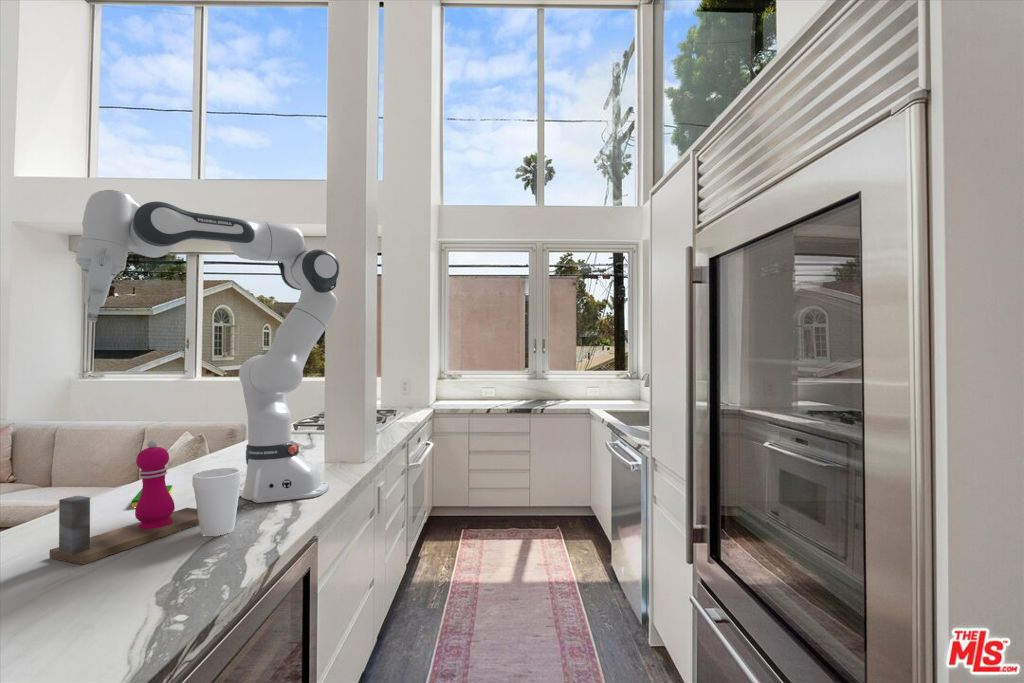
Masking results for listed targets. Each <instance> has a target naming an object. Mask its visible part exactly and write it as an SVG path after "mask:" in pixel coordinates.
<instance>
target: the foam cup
mask: <svg viewBox="0 0 1024 683" xmlns="http://www.w3.org/2000/svg"><path fill="white" fill-rule="evenodd" d="M242 481H243V471H242V469H241V468H237V467H222V468H213V469H208V470H202V471H199V472H195V473H194V474H192V488H193V490H194V498H195V504H196V509H197V512H198V518H199V524H198V525H199V530H200V535H201V534H202V535H205V536H214V537H219V536H220V535H221V536H224V535H228V534H230V533H232V532H233V531H234V530H235V524H236V518H237V509H238V504H239V497H240V490H241V482H242ZM227 533H228V534H227ZM202 535H201V536H202ZM205 536H204V537H205ZM221 536H220V537H221Z"/></svg>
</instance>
